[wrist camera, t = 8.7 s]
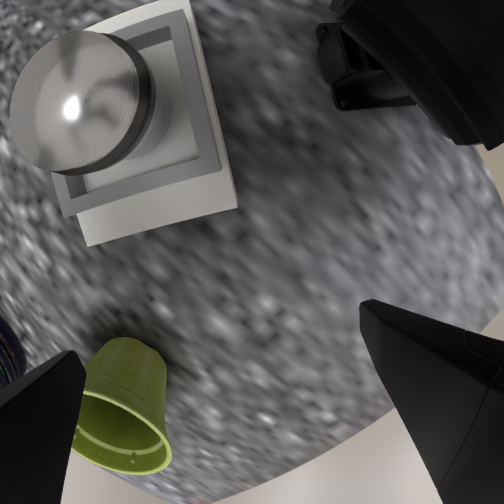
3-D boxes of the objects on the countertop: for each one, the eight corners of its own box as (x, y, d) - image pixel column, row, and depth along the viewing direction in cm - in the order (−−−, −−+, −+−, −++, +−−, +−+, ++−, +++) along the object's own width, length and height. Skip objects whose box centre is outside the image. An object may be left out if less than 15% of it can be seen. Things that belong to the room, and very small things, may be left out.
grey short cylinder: (166, 52, 13) (125, -2, 7) (188, 148, 15) (153, 148, 9) (75, 88, 14) (-1, 67, 7) (94, 178, 15) (19, 200, 9)
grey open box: (195, 17, 16) (181, -24, 10) (237, 196, 20) (238, 215, 15) (73, 62, 16) (28, 42, 11) (111, 229, 20) (72, 258, 15)
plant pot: (110, 403, 26) (85, 470, 18) (68, 324, 23) (20, 388, 15) (198, 397, 26) (190, 475, 17) (165, 310, 23) (135, 388, 14)
